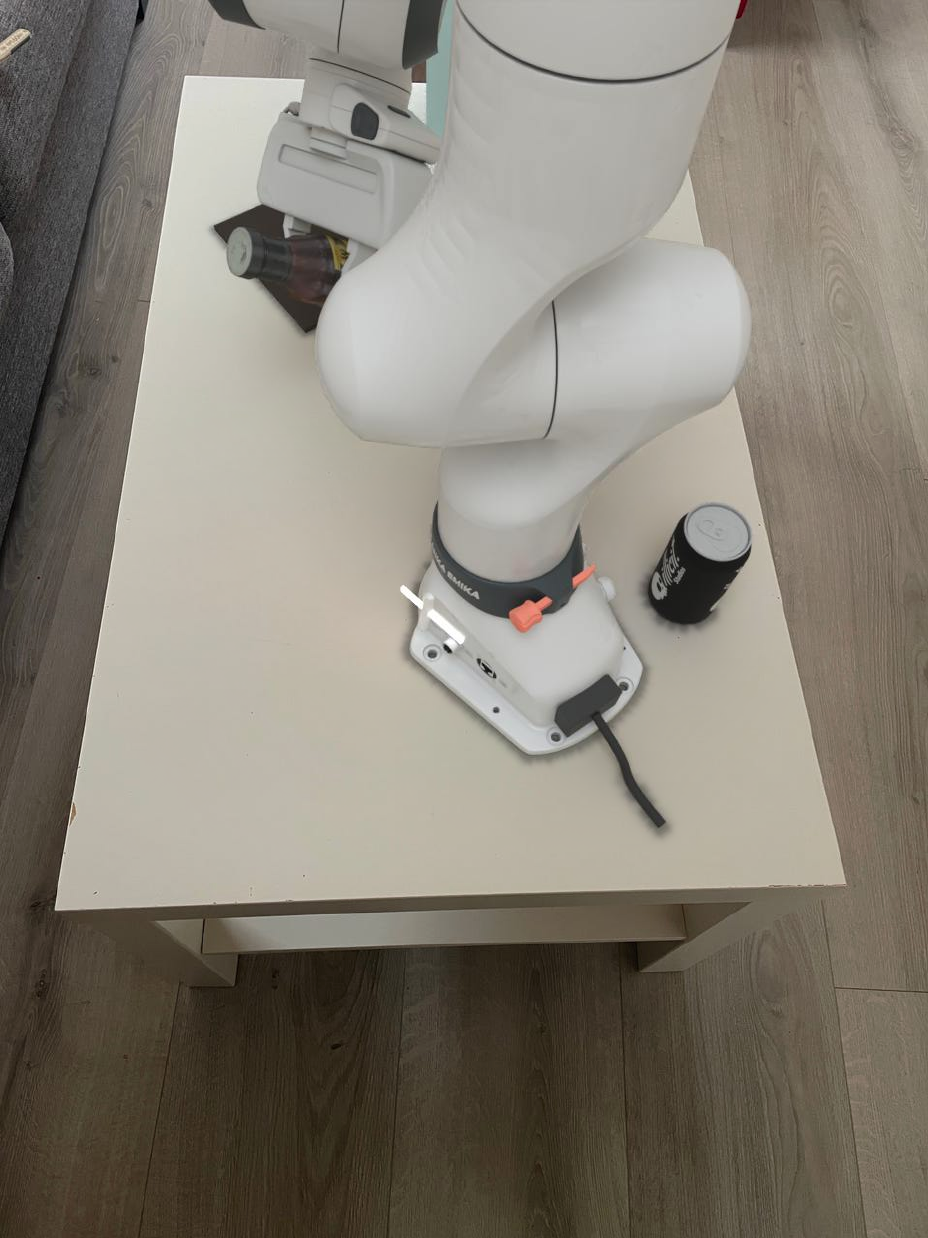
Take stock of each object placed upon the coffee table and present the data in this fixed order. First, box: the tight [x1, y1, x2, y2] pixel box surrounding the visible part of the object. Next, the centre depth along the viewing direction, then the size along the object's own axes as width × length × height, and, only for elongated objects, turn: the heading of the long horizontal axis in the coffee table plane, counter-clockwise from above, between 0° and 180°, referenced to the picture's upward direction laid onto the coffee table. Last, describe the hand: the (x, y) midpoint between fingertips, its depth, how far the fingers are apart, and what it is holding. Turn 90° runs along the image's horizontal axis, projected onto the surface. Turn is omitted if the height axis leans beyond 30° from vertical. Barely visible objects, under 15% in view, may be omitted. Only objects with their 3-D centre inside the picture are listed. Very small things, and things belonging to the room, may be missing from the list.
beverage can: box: [647, 501, 754, 625], centre depth 76 cm, size 7×7×12 cm
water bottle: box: [425, 0, 453, 141], centre depth 99 cm, size 10×10×25 cm
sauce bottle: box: [225, 227, 378, 307], centre depth 79 cm, size 7×6×20 cm
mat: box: [213, 203, 349, 333], centre depth 101 cm, size 20×20×1 cm
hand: (319, 281), depth 79 cm, fingers closed on sauce bottle, 6 cm apart
